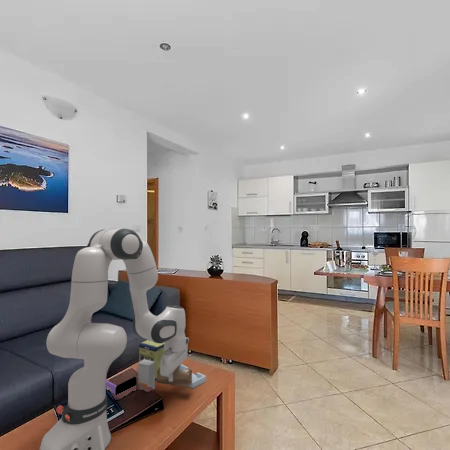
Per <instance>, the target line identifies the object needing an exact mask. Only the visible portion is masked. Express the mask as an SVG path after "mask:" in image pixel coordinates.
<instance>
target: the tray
mask: <svg viewBox="0 0 450 450" xmlns="http://www.w3.org/2000/svg"><path fill="white" fill-rule="evenodd" d="M180 369H188V370H189V367H188V366H186V365H184V364H182V363H181V367H180ZM205 382H207V376H206V375H205V374H202V373H201V372H196V374H194V373H193V372H192V383H191V384H190V385H189V387H188V388H190V389H195V388H197V387H199V386H201V385H202V384H204V383H205Z"/></svg>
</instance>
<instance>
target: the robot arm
mask: <svg viewBox="0 0 450 450" xmlns="http://www.w3.org/2000/svg"><path fill="white" fill-rule="evenodd" d="M153 254H154V253H153V252H152V249H151V247H150V245H149V244H148V242H147V241H145V240H143V239H141V237H140V236H139V234H138V233H137V232H136V231H134V230H133V229H129V228H117V227H114V228H107V229H104V228H103V229H100V230H98V231H95V232H94V233H93V234H92V235H91V236H90V238H89V241H88V243H87V245H86V247H83V248H81V249H80V250H78V251H77V253H76V255H75V257H74V260H73V261H74V263H73V267H72V273H71V283H70V284H71V286H70V295H69V305H68V308H67V310H66V312H65V315H64V316H63V318H62V319H61V320H60V321H59V323H57V324H56V325H54V326H53V327H52V328H51V330H50V331H49V333H48V334H47V337H46V348H47V352H48V353H50V354H51V355H54V356H57V357H60V358H64V359H66V358H67V359H80V360H83V366H82V367H79V369H77V370H76V371H74V373H72V374H71V376H70V378H69V380H68V382H67V383H68V385H67V387H68V388H67V390H68V392H67V393H68V395H67V396H68V400H67V404H66V406H65V407H64V406H63V405H60V404H59V405H58V406H57V407H56V408H55V411H56V413H57V414H58V415H61V418H60V419H59V420H58V421H57V422H55V424H54V425H53V426H52V427H51V428H50V429H49V430H48V431H47V432H46V433H45V434H44V435H43V437H42V440H41V442H40V447H39V450H106V448H107V446H108V445H109V444H110V443H111V441H112V440H111V439H112V434H111V431H110V429H109V424H108V418H107V417H108V416H107V410H108V396H107V395H106V380H107V375H108V374H107V373H108V371H109V368H110V367H111V364H112V363H113V362H114V361H115V360H117V358H119V357H120V356H121V355H122V354H123V352H124V351H125V349H126V347H127V343H128V337H127V333H126V330H125V329H124V328H123V327H122V326H119V325H115V324H112V323H102V322H101V323H100V322H92V316H93V314H94V313H96V312H98V311H99V310H101V309H102V308H104V307H105V306H106V304H107V301H108V293H109V292H108V291H109V289H108V288H109V286H108V285H109V267H110V265H111V262H112V261H113V260H114V261H116V260H117V261H118V260H119V261H120V260H122V261H123V263H124V265H125V270H126V274H127V278H128V282H129V283H128V284H129V290H128V291H129V296H130V303H131V308H132V314H133V317H132V331H133V333H134V335H135V336H137V337H139V338H142V339H145V340H146V341H147V340H150V341H152V342H155V343H163V342H164V350H165V351H166V352H165V353H164V355H163V356H162V358H161V366H160V375H161V376H165V377H169V382H173V380H174V376H173V371H174V370H175V369H176V368H180V367H181V364H182V363H183V362H184V361H185V360H186V359H187V357H188V351H189V350H188V349H189V346H188V345H189V342H190V338H189V337H186V333H185V330H186V311H185V309H184V307H182V306H180V305H175V304H173V305H171V304H169V305H166V307H165V309H164V310H163V311H162V312H161V313H160V314H158V315H155V314H153V313H152V312H151V311H150V309H149V305H148V299H147V291H149V290H151V289H153V287H154V286H156V284H157V282H158V280H159V274H158V273H159V272H158V269H157V264H156V260H155V257H154V255H153Z"/></svg>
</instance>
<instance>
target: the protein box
mask: <svg viewBox="0 0 450 450" xmlns="http://www.w3.org/2000/svg"><path fill="white" fill-rule="evenodd" d="M138 346H139V354H138V355H139V358H138V359H139V360H138V361H139V362H141V361H142V360H144V359H146V360H150V361H153V362H155V382H157V370H158V369H159V368H160V366H161V358H162V356H163V355H164V353H165V352H166V351H165V350H164V342H163V343H155V342H152V341H150V340H147V339H146V340H145V341H142V342H140V343H139V345H138ZM139 362H138V363H139Z"/></svg>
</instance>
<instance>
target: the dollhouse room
mask: <svg viewBox="0 0 450 450" xmlns="http://www.w3.org/2000/svg"><path fill="white" fill-rule="evenodd" d="M135 385H137V386H138V377H137V376H134V377H133V376H132V377H131V378H129V379H127V380H125V381H123V382H121V383H120V384H117V385H116V384H114V382H113V383H112V382H110V381H109V380H107V379H106V389H107V390H109V389H110V391H111V392H112V393H114V394H115V395H117V394H119V393H121V392H123V391H125V390H127V389H129V388H131V387H133V386H135Z"/></svg>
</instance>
